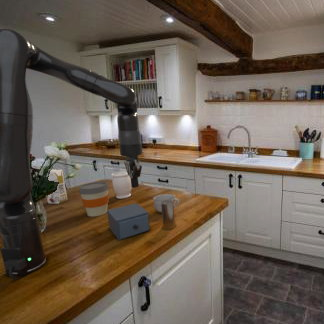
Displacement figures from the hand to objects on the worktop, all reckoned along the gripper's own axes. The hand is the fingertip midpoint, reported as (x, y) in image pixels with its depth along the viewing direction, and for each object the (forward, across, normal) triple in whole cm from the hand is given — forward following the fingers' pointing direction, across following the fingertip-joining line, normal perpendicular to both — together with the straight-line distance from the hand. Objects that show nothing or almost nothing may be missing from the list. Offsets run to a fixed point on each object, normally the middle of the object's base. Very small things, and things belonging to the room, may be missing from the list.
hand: (135, 187), depth 94 cm
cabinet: (+23, -15, 0) cm, 27 cm away
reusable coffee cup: (+23, -45, -6) cm, 51 cm away
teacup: (+23, -22, +21) cm, 38 cm away
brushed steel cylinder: (+23, -4, +14) cm, 27 cm away
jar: (+23, -63, +11) cm, 68 cm away
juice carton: (+23, -80, -20) cm, 86 cm away
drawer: (+22, -12, 0) cm, 25 cm away
